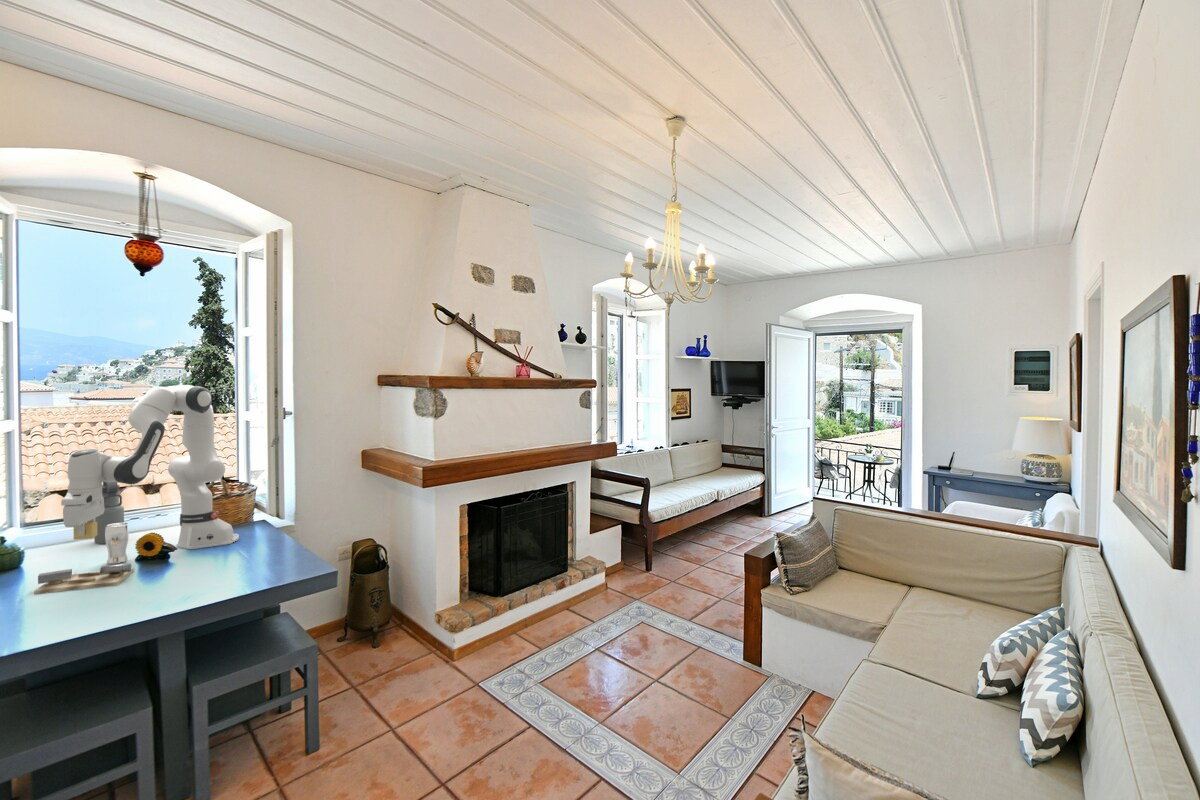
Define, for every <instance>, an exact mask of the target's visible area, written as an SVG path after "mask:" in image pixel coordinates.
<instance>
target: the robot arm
mask: <svg viewBox="0 0 1200 800" xmlns="http://www.w3.org/2000/svg"><path fill="white" fill-rule="evenodd" d="M212 401H213V396H212V394H211V391H210V390H209V389H207V388H205V387H202V386H199V385H195V386H194V385H188V384H187V385H184V384H181V385H165V386H155V387H152V388H151V389H149V390H148V391H147V392H146V393H145V394H144V395H143V396H142V397H141V398H140V399H139V401H137V403H136V404H135V405H134V407H133V408H132V409H131V410H130V412H129V415H128V417H127V418H128V423H129V424H130V426H131V427H132V428H133V429H134V430H136V431H138V432H139V433H141V438H140V439H139V441H138V443H137V446H136V447H135V449H134V452H133V453H132V454H130V455H128V456H118V455H116V456H115V455H110V454H106V453H103V452H101V451H100V449H99V450H98V449H95V448H90V449H83V450H82V449H81V450H78V451H76V452H73V453H72V454H71V455H70V456H69V459H68V463H67V464H68V465H67V478H68V483H69V484H68V485H67V492H66V495H65V496H64V497H63V498H62V499H61V501H60V502H61V505H60V506H63V509H62V520H63V524H64V527H65V528H74V527H75V528H76V530H77V534H78V536H83V535H85V534H86V530H85V528H84V526H85V523H87V522H95V518H96V517H98V516H100V515H102V514H103V513H104V498H103V496H102V485H103V481H106V482H117V483H121V484H126V485H135V484H138V483H140V482H142V481H143V480H144V479H146V477H147V475H148V474H149V471H150V468H151V467H150V466H151V463H152V461H153V458H154V456H155V454H156V452H157V450H158V448H159V446H160V443H161V442H162V440H163V437H164V434H165V430H166V428H165V422H166V420H167V419H168V418H169V415H170V413H171V412H172V411H175V412H176V411H177V412H178V411H179V412H182V413H183V415H184V416H183V421H182V439H181V442H182V445H183V447H184V448H185V449H186V450H187V452H188V455H185V456H179V457H176V458H174V459H172V460H171V461H170V462H169V464H168V467H167V468H168V469H167V470H168V471H167V472H168V474H169V475H170V476H171V477H172V478H173V480H174V481H175V483H176V485H177V488H178V491H179V495H180V502H181V503H180V507H181V511H180V512H181V513H180V514H179V515H180V516H179V524H180V532H179V536H178V537H179V538H178V541H177V545H176V546H177V547H178V548H182V549H186V550H196V549H197V550H198V549H203V548H204V549H205V548H209V547H210V548H212V547H217V546H218V547H219V546H225V545H230V544H234V543H236V542H237V541H238V540H239V539H240V535H239V533H234V529H233V526H232V525H231V524H230V523H228V522H227V521H224V520H222V519H220V518H219V511H218V510H217V511H216V510H214V509H213V493H212V491H211V490H210V489H209V487H208V486H207V483H213V482H217V481H219V480H220V479H222V478H223V477H224V475H225V473H226V466H225V464H224V462H223V461H222V460H221V459H220V458H219V456H218V453H217V450H216V446H215V435H214V434H215V413H214V410H213V408H214V407H213V405H212V403H213V402H212ZM235 541H236V542H235ZM233 542H234V543H233Z"/></svg>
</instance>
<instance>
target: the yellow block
mask: <svg viewBox="0 0 1200 800" xmlns="http://www.w3.org/2000/svg"><path fill="white" fill-rule="evenodd" d="M84 528H85V530H86V534H85V535H83V536H78V534H77V530H76V528H75V527H73V541H74V540H75V541H77V540H88V539H89V540H90V539H94V537H95V536H97V522H86V523H85V526H84Z"/></svg>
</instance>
